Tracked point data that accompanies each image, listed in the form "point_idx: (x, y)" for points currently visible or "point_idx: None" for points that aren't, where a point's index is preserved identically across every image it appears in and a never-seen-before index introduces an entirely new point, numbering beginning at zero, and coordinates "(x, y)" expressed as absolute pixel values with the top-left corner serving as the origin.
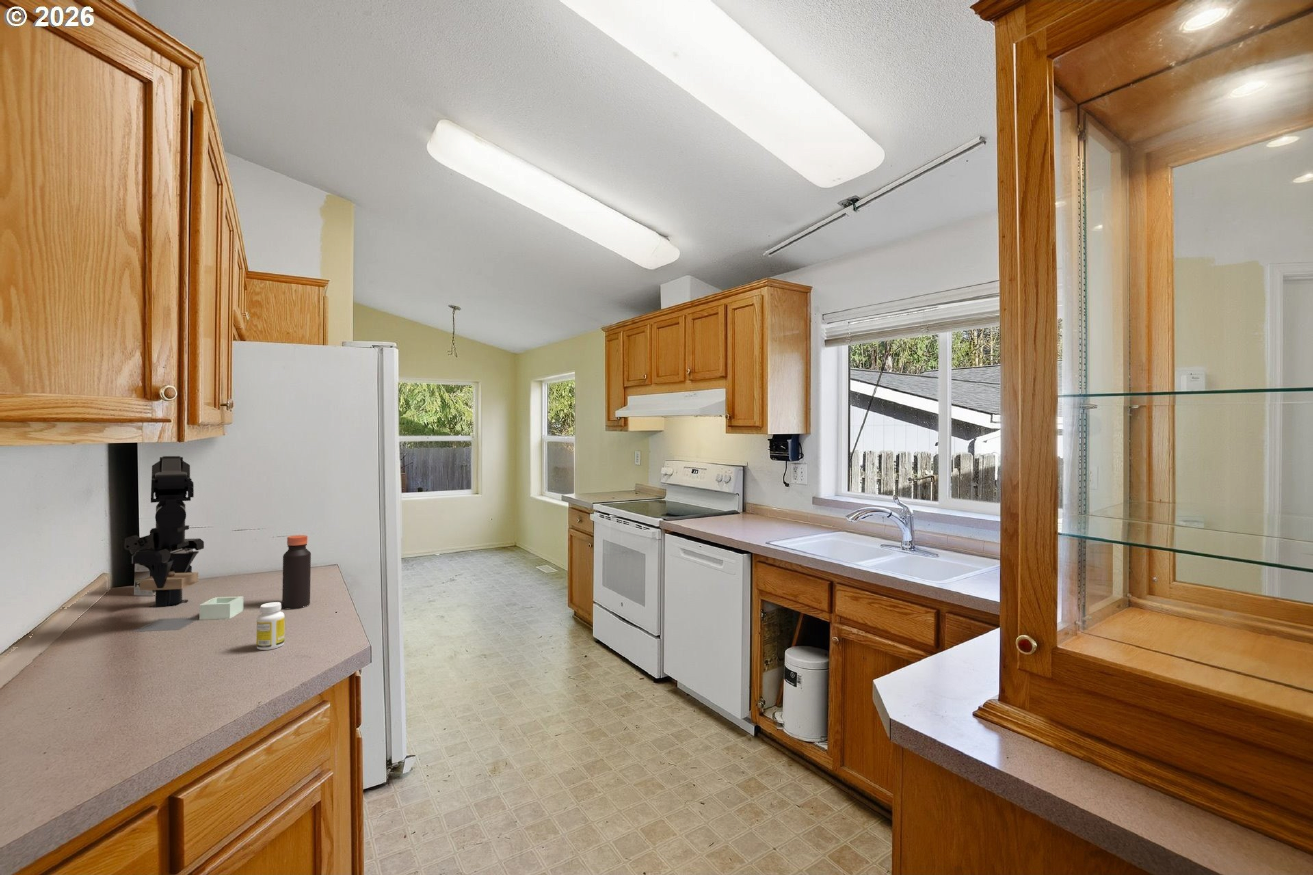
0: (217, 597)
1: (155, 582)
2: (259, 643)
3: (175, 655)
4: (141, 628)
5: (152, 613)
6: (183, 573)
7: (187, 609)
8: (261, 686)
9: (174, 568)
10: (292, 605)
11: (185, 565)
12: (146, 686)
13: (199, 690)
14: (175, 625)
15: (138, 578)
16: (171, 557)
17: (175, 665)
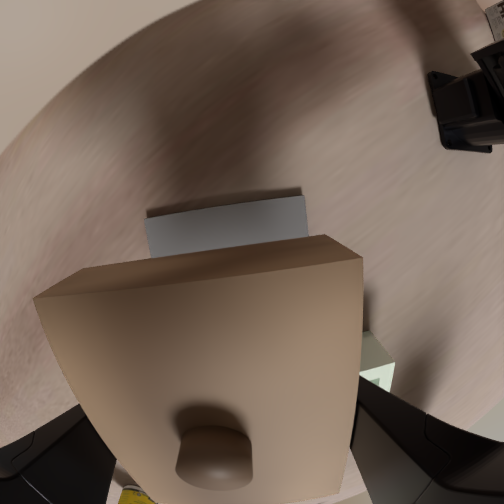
0: (391, 371)
1: (76, 409)
2: (121, 493)
3: (64, 410)
4: (179, 222)
5: (391, 107)
6: (322, 461)
7: (430, 201)
8: None
9: (380, 431)
10: None
11: (374, 497)
12: (6, 411)
13: None
14: None
15: None
16: (472, 501)
17: (44, 422)
